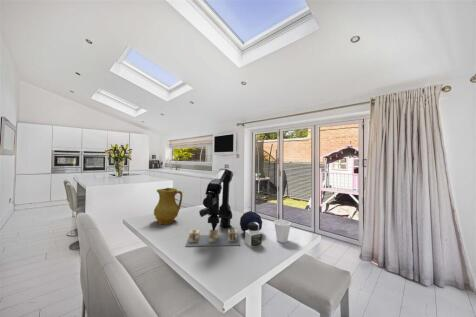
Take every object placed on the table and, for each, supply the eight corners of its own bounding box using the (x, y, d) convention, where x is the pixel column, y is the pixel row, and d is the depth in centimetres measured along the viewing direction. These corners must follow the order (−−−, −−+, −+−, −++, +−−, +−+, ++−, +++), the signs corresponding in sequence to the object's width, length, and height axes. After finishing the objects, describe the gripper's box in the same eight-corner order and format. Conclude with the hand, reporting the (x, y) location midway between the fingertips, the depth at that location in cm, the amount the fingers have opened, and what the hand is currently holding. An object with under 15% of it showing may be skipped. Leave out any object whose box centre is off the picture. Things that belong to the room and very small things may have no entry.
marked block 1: (199, 238, 114) (199, 229, 114) (198, 242, 109) (198, 233, 109) (190, 238, 113) (190, 229, 113) (189, 242, 108) (189, 233, 108)
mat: (237, 235, 120) (237, 234, 120) (240, 245, 106) (240, 244, 106) (189, 236, 118) (189, 235, 118) (185, 246, 104) (185, 245, 104)
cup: (291, 238, 117) (291, 220, 117) (290, 245, 108) (290, 226, 108) (274, 236, 120) (275, 218, 120) (272, 242, 111) (272, 224, 111)
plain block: (217, 237, 115) (218, 229, 115) (217, 241, 110) (217, 232, 110) (209, 238, 114) (209, 229, 114) (208, 241, 109) (209, 233, 109)
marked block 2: (236, 237, 116) (236, 229, 116) (236, 241, 111) (237, 232, 111) (227, 237, 115) (228, 229, 115) (228, 241, 110) (228, 232, 110)
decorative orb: (267, 223, 128) (254, 204, 131) (265, 231, 114) (250, 210, 116) (251, 234, 131) (238, 215, 134) (246, 243, 117) (232, 222, 119)
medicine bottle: (251, 248, 104) (251, 226, 104) (244, 242, 110) (245, 222, 110) (261, 245, 107) (262, 224, 107) (255, 240, 114) (255, 220, 113)
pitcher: (161, 216, 153) (162, 185, 152) (183, 219, 150) (185, 188, 149) (148, 224, 136) (149, 190, 135) (172, 228, 133) (174, 192, 132)
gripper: (201, 200, 121) (201, 224, 121) (198, 207, 102) (197, 236, 102) (219, 200, 122) (219, 224, 122) (219, 207, 103) (218, 236, 103)
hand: (213, 230), depth 112 cm, fingers closed
